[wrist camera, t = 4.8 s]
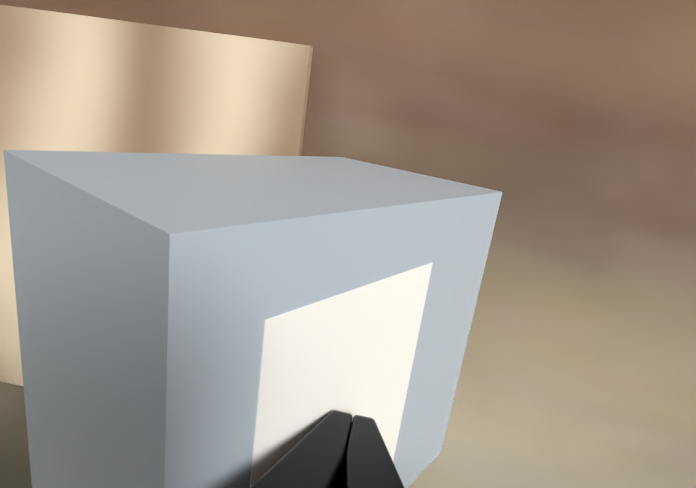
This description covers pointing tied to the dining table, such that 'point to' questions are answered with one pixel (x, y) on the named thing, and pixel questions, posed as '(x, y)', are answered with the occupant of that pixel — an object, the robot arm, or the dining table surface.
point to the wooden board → (136, 103)
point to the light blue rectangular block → (234, 309)
